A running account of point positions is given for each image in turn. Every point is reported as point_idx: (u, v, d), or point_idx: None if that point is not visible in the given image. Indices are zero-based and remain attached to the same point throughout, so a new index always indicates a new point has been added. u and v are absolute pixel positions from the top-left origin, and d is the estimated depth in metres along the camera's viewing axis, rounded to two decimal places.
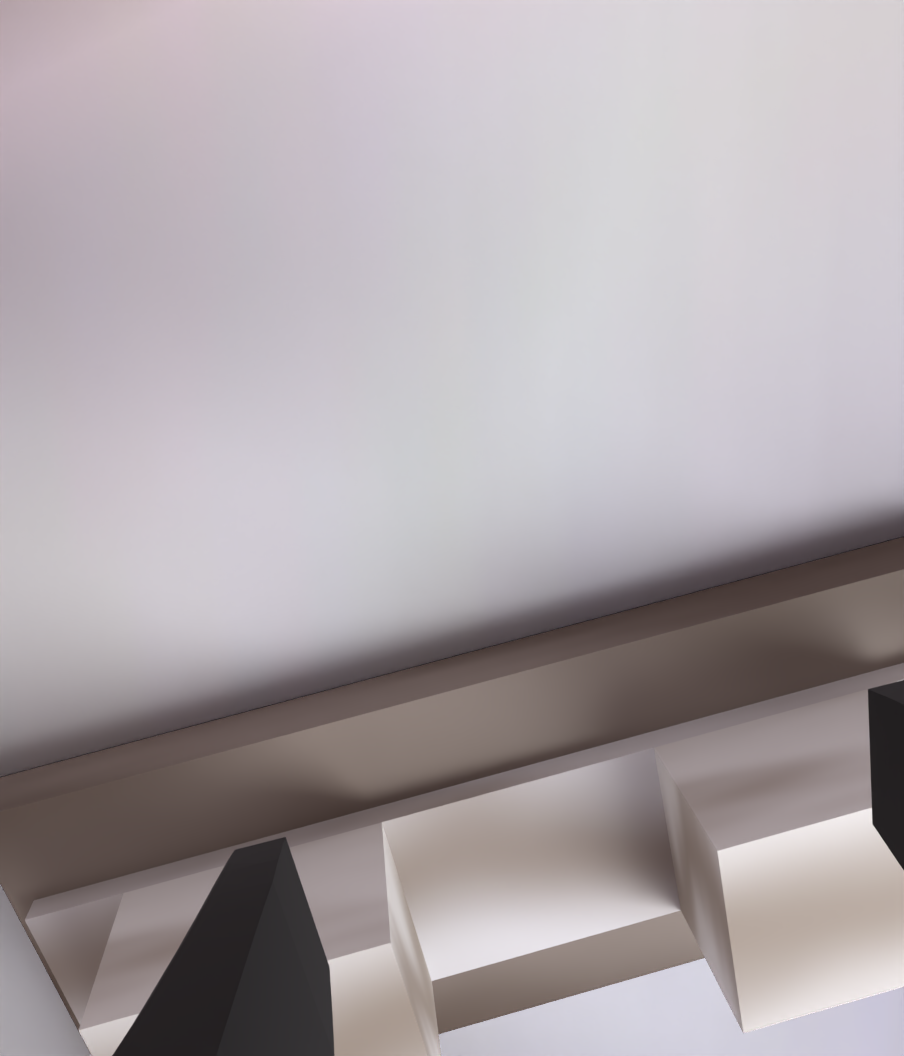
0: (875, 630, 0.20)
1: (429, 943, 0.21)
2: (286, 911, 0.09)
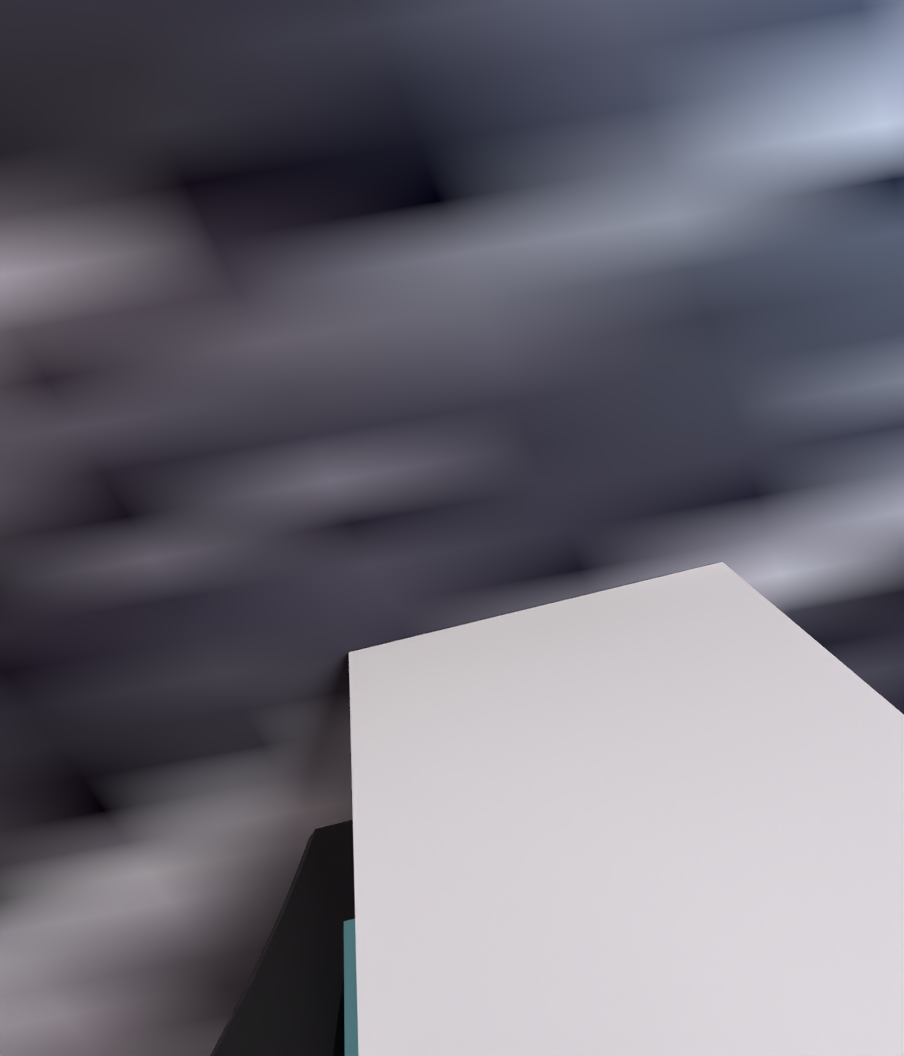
0: None
1: None
2: None
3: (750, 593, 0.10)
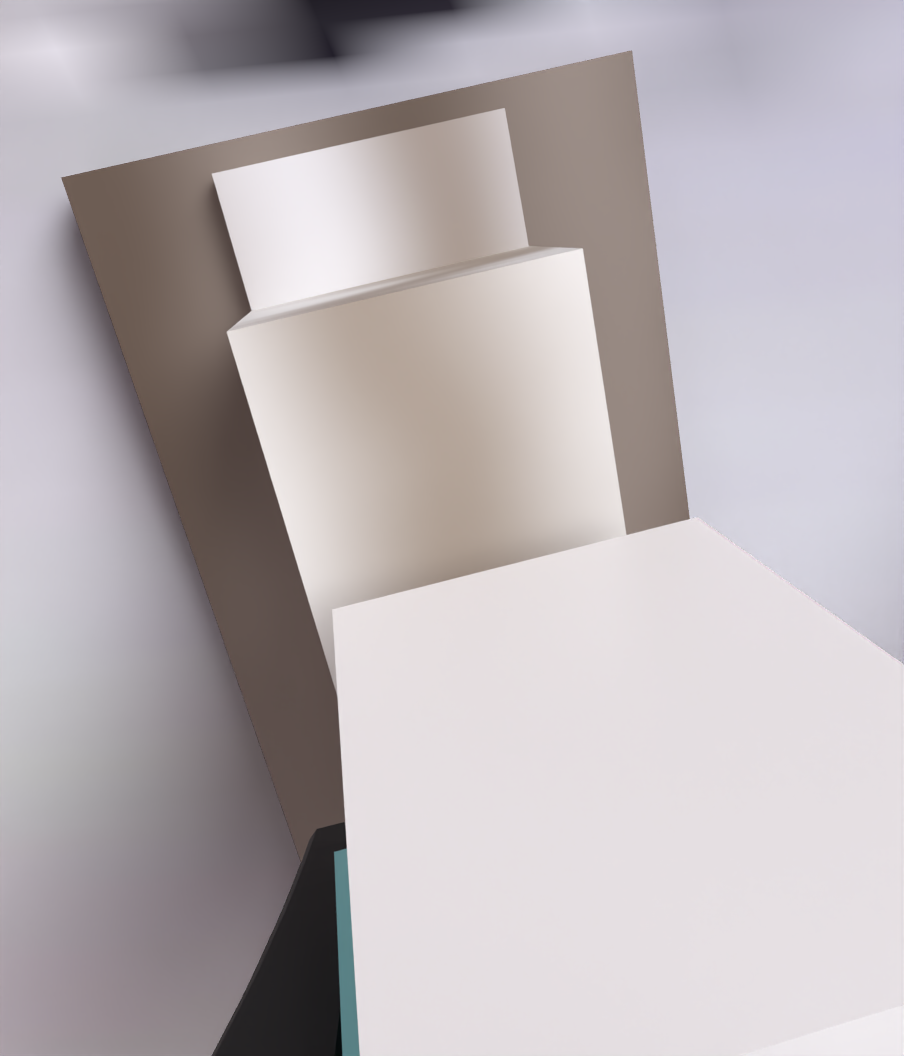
0: (197, 328, 0.15)
1: None
2: None
3: (725, 544, 0.10)
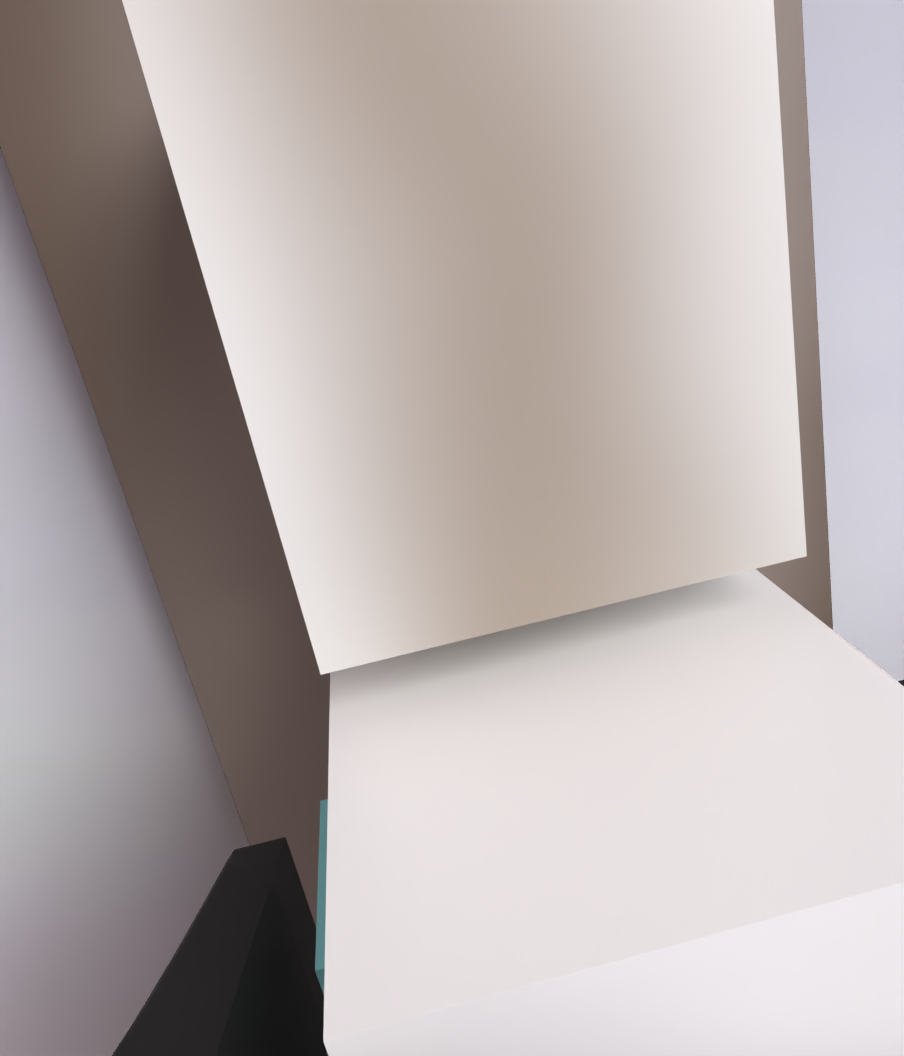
0: (112, 103, 0.10)
1: None
2: (286, 911, 0.09)
3: None
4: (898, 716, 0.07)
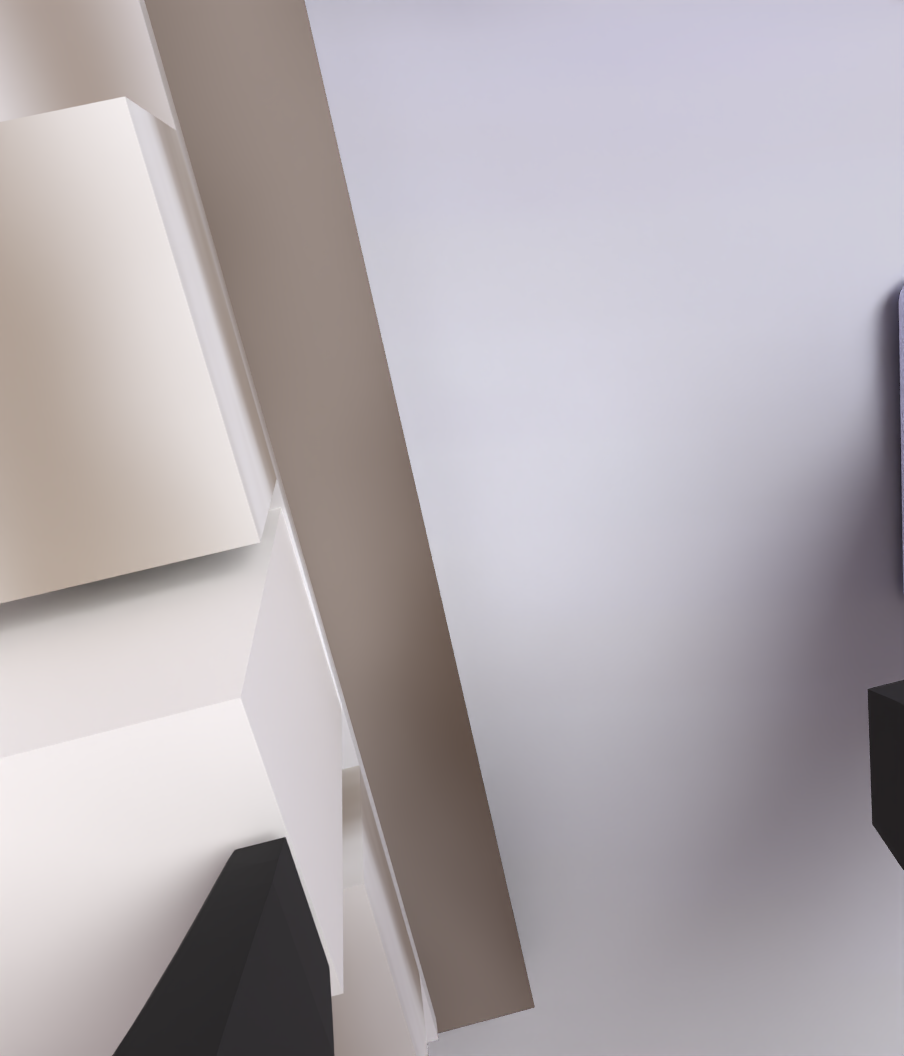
0: None
1: None
2: (286, 911, 0.09)
3: (272, 525, 0.15)
4: (233, 642, 0.11)
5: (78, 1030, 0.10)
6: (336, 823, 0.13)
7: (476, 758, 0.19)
